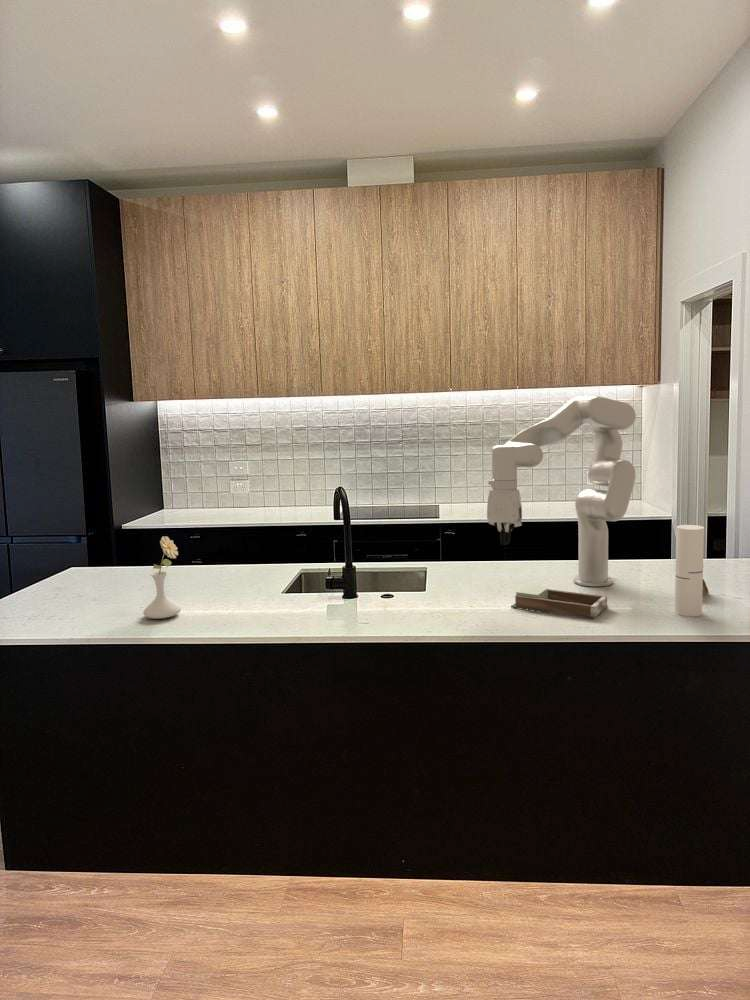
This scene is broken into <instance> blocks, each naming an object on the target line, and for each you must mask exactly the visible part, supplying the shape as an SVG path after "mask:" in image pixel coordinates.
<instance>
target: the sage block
mask: <svg viewBox="0 0 750 1000" xmlns="http://www.w3.org/2000/svg"><path fill="white" fill-rule="evenodd" d="M548 589H549V588H548V587H544V586H543V587H541V586H535V585H534V586H533V585H525V586H524V587H522V588H520V589H519V590H517V591H516V592H515V596H516V595H520V596H527V597H535V598H542V599H548Z"/></svg>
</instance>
